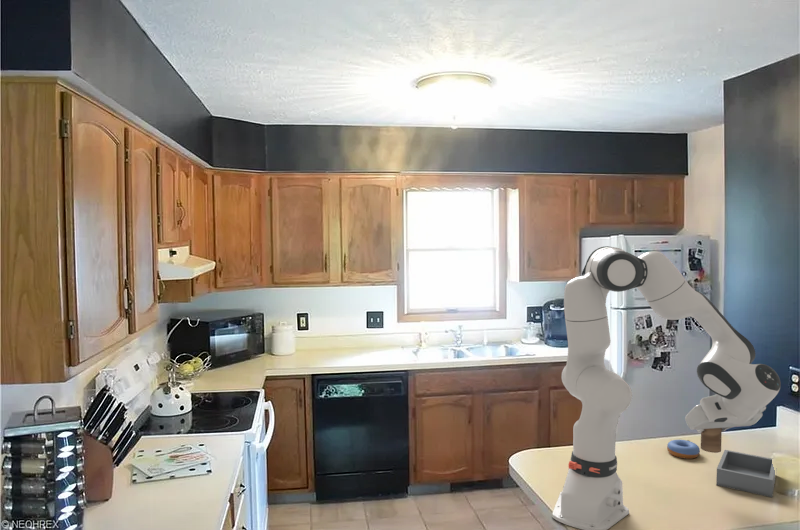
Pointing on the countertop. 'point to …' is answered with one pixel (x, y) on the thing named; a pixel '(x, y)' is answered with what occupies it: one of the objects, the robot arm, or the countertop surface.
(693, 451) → the doughnut
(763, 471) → the bin
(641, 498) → the countertop surface
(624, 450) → the countertop surface
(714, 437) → the pepper mill
